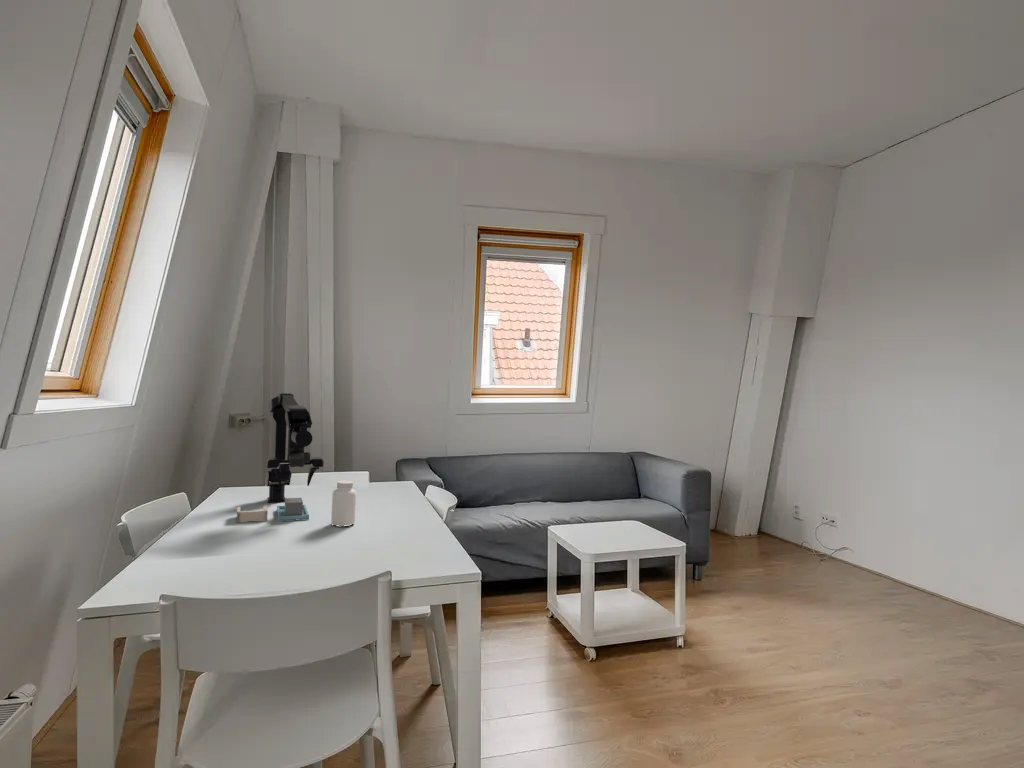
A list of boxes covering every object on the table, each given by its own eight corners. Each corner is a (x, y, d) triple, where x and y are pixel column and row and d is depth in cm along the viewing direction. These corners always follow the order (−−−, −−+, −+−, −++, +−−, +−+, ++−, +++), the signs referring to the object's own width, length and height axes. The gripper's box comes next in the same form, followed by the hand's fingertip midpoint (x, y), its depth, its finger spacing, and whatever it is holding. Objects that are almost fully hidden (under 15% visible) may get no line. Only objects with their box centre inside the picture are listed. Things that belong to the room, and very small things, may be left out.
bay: (237, 516, 210) (237, 506, 209) (266, 515, 213) (266, 505, 213) (236, 522, 202) (237, 512, 202) (267, 521, 206) (267, 511, 206)
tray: (277, 510, 221) (277, 506, 221) (305, 508, 225) (305, 504, 225) (278, 521, 207) (279, 516, 206) (308, 519, 211) (309, 515, 210)
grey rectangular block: (283, 509, 219) (284, 495, 219) (299, 509, 222) (300, 494, 221) (285, 518, 208) (285, 502, 208) (302, 517, 211) (302, 502, 210)
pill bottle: (358, 522, 210) (360, 480, 210) (349, 528, 202) (351, 485, 202) (336, 520, 211) (338, 478, 211) (327, 526, 203) (329, 483, 203)
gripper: (268, 446, 201) (266, 492, 202) (326, 446, 209) (324, 490, 209) (267, 441, 211) (266, 485, 212) (322, 441, 219) (320, 483, 219)
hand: (294, 486), depth 213 cm, fingers open, 9 cm apart
